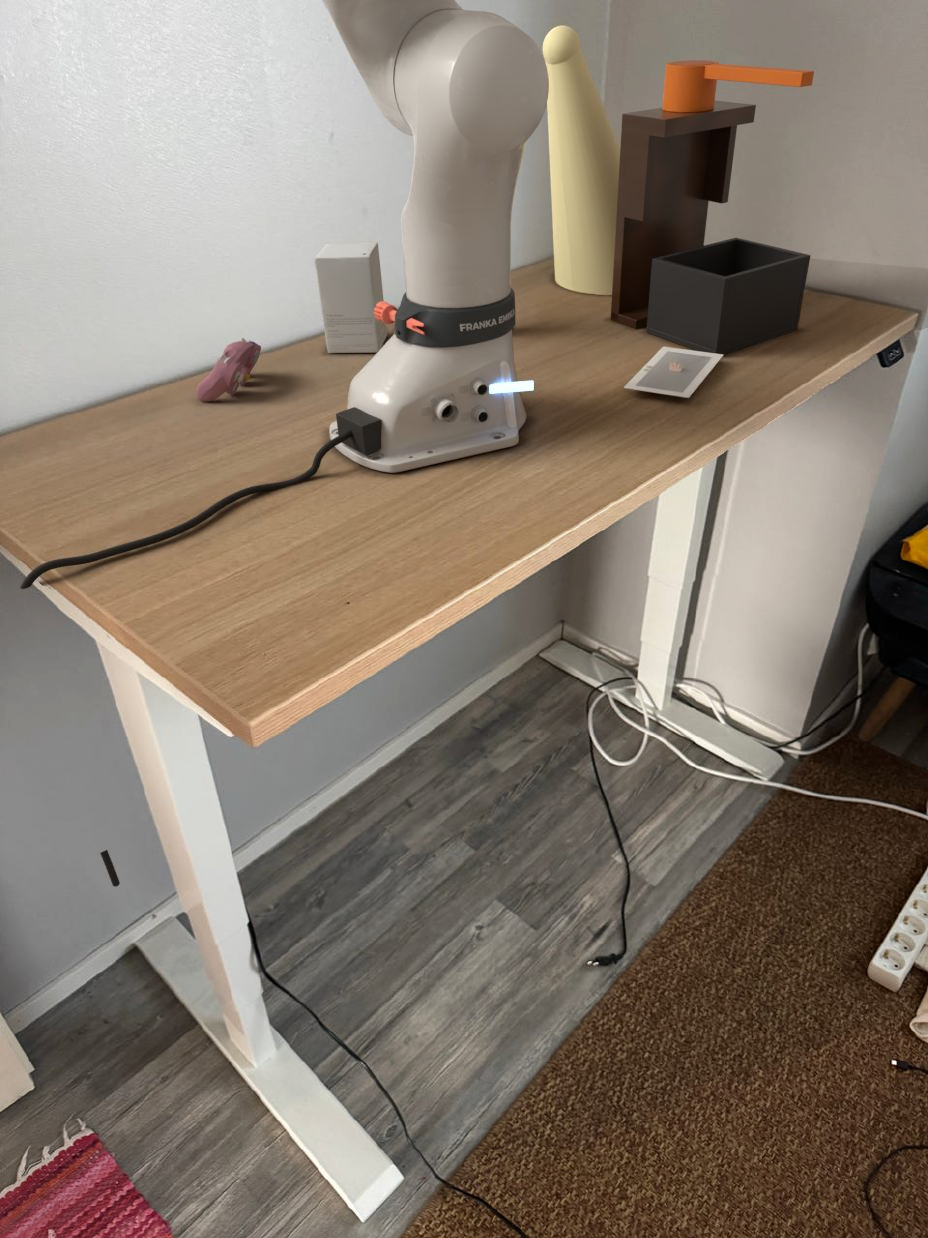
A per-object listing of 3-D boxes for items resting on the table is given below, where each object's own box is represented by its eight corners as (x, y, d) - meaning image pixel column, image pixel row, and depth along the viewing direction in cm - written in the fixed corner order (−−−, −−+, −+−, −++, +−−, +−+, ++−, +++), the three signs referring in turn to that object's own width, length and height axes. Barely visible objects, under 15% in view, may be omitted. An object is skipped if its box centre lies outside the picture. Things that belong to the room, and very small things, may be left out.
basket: (715, 357, 117) (725, 278, 111) (646, 332, 125) (652, 258, 120) (797, 330, 124) (811, 254, 118) (726, 308, 132) (736, 237, 127)
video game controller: (225, 416, 111) (240, 367, 107) (191, 399, 111) (204, 349, 106) (256, 385, 119) (271, 339, 115) (224, 369, 118) (238, 321, 114)
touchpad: (722, 363, 115) (724, 346, 114) (687, 406, 105) (689, 388, 103) (662, 354, 118) (663, 338, 117) (622, 396, 108) (623, 378, 106)
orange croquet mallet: (781, 125, 103) (789, 73, 100) (651, 109, 117) (655, 63, 114) (818, 118, 106) (827, 68, 103) (687, 103, 120) (691, 58, 117)
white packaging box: (388, 335, 128) (380, 240, 121) (379, 354, 122) (370, 255, 115) (337, 335, 129) (325, 241, 122) (325, 354, 123) (312, 256, 116)
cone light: (607, 256, 157) (620, 12, 137) (693, 276, 146) (721, 14, 125) (502, 287, 145) (499, 25, 124) (587, 312, 133) (599, 27, 113)
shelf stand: (648, 333, 125) (666, 119, 110) (610, 319, 130) (622, 113, 115) (729, 308, 132) (756, 104, 117) (689, 297, 137) (710, 99, 122)
